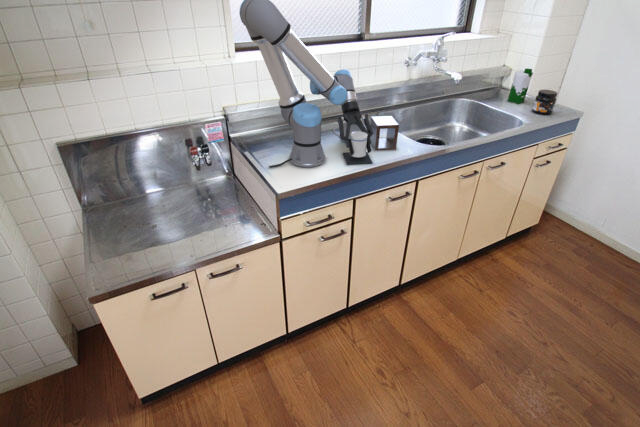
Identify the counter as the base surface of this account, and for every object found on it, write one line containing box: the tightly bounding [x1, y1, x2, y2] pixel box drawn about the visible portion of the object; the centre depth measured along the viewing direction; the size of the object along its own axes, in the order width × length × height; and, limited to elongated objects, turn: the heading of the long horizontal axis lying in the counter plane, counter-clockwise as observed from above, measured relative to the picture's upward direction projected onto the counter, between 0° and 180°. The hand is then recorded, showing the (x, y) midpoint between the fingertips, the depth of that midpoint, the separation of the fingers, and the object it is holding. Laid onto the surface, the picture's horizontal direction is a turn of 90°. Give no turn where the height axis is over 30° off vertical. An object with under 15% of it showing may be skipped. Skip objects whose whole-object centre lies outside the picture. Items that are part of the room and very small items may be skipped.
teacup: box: [332, 121, 362, 144], centre depth 184 cm, size 14×11×8 cm
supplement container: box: [531, 89, 558, 116], centre depth 221 cm, size 10×10×12 cm
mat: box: [342, 151, 373, 166], centre depth 170 cm, size 11×11×1 cm
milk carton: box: [507, 68, 534, 105], centre depth 236 cm, size 9×9×20 cm
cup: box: [350, 131, 367, 157], centre depth 166 cm, size 7×7×9 cm
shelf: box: [370, 115, 400, 152], centre depth 180 cm, size 10×12×12 cm
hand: (361, 153), depth 165 cm, fingers closed on cup, 7 cm apart
